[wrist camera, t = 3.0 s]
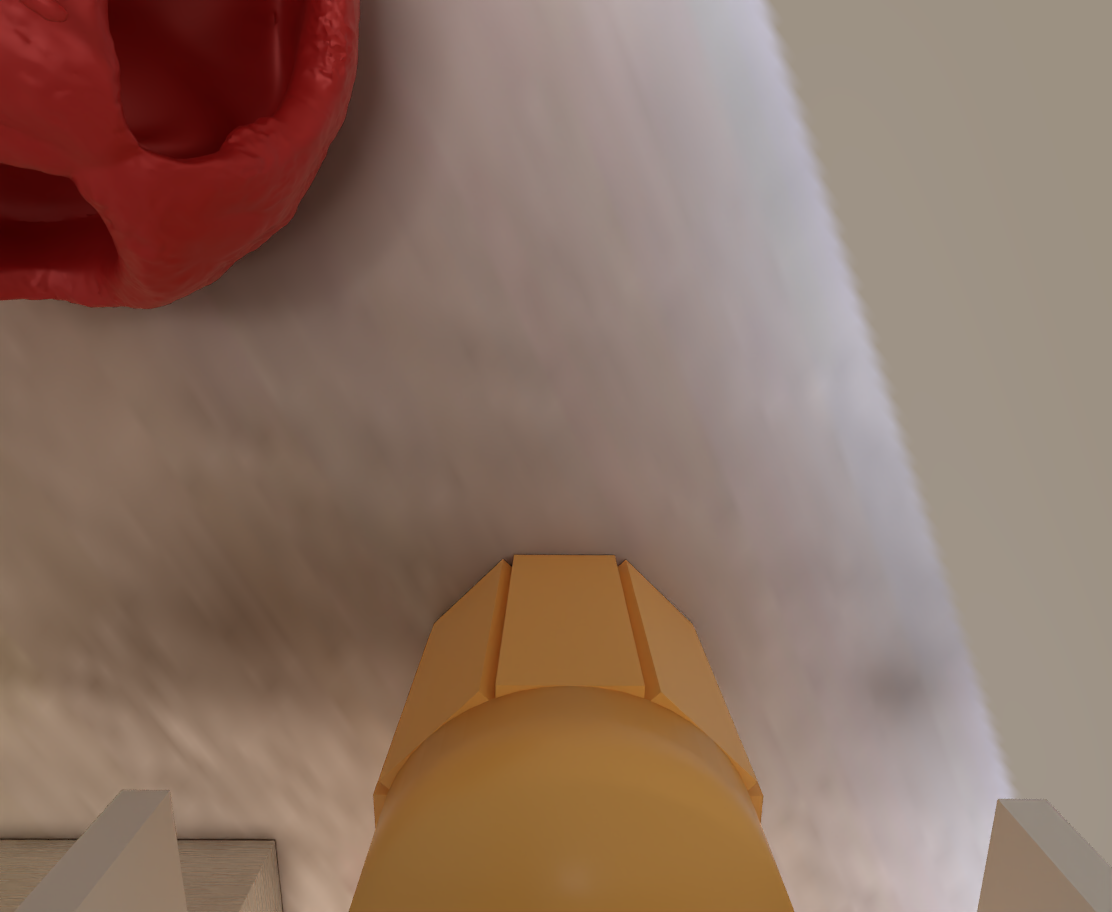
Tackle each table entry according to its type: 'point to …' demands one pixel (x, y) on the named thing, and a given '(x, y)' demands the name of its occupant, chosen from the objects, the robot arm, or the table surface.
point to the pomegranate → (159, 138)
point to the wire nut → (567, 759)
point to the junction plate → (207, 870)
